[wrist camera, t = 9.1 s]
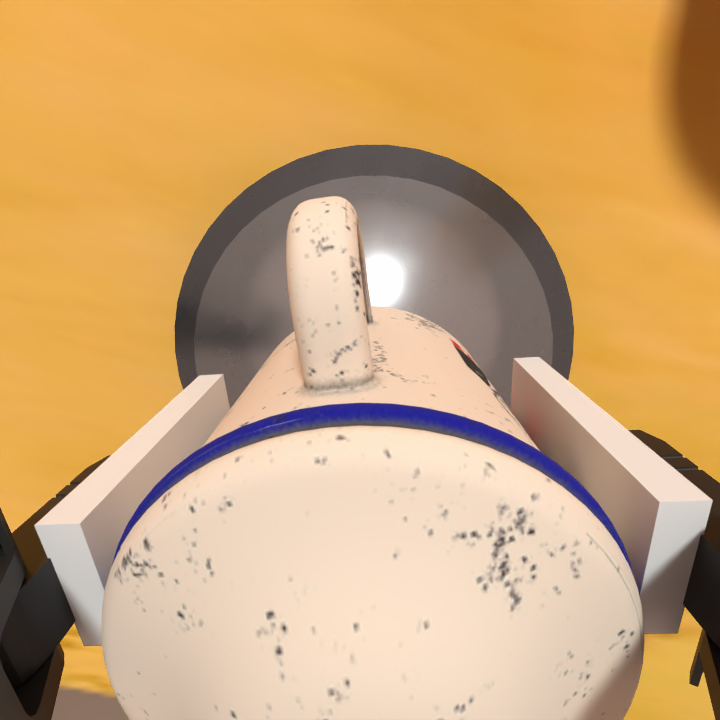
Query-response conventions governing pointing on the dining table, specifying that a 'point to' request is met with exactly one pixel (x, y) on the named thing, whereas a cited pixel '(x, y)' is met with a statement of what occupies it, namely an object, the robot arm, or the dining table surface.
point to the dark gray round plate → (380, 265)
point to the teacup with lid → (369, 537)
